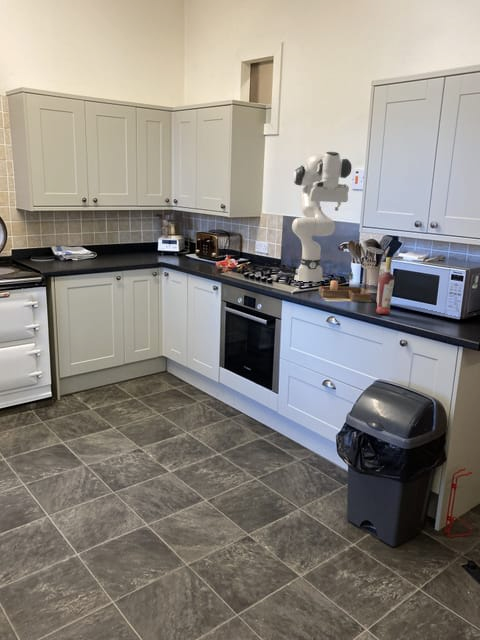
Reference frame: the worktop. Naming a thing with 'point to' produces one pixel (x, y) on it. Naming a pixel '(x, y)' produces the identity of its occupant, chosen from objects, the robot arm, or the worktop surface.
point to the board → (339, 299)
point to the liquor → (385, 289)
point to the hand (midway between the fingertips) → (327, 210)
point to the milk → (382, 270)
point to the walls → (346, 293)
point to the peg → (334, 285)
